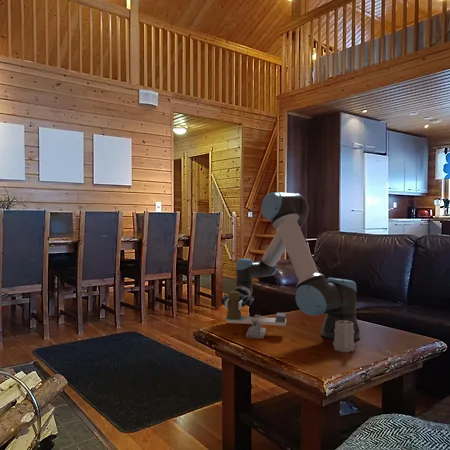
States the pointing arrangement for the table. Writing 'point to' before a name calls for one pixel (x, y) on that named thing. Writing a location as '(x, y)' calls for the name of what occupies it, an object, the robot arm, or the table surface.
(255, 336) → the stand
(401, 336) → the table surface
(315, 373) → the table surface
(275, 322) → the beam
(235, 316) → the cork
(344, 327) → the mug
